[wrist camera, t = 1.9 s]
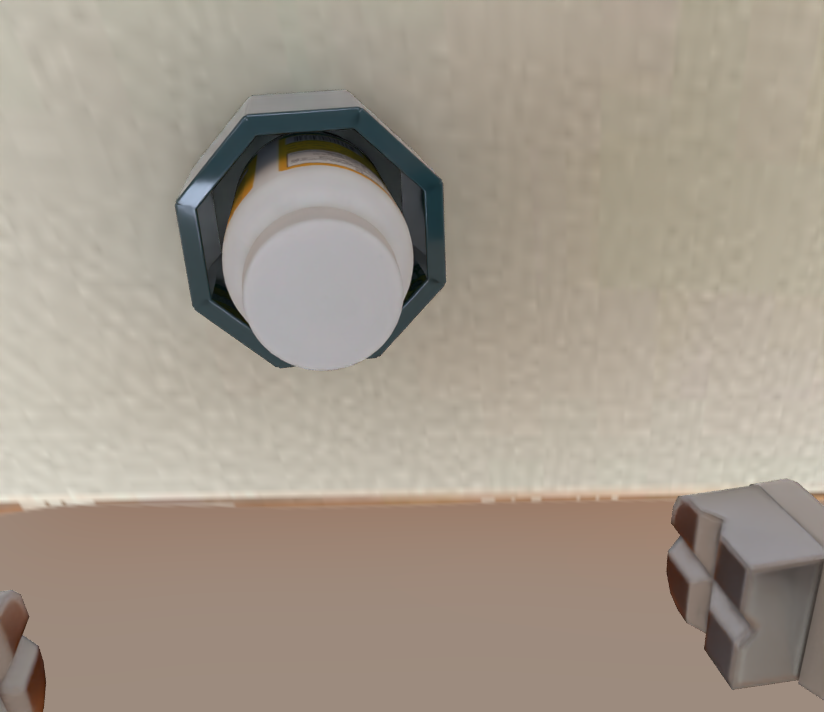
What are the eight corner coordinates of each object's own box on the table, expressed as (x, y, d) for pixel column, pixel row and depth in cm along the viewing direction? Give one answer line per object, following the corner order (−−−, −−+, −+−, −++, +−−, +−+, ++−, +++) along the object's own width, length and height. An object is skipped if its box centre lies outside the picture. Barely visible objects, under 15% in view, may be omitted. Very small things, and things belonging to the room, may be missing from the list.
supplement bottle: (335, 99, 27) (365, 144, 18) (411, 230, 29) (470, 326, 20) (201, 181, 27) (167, 265, 18) (287, 305, 29) (293, 430, 21)
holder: (413, 84, 27) (441, 100, 22) (422, 298, 30) (448, 350, 26) (179, 99, 26) (159, 120, 21) (215, 319, 29) (204, 377, 25)
